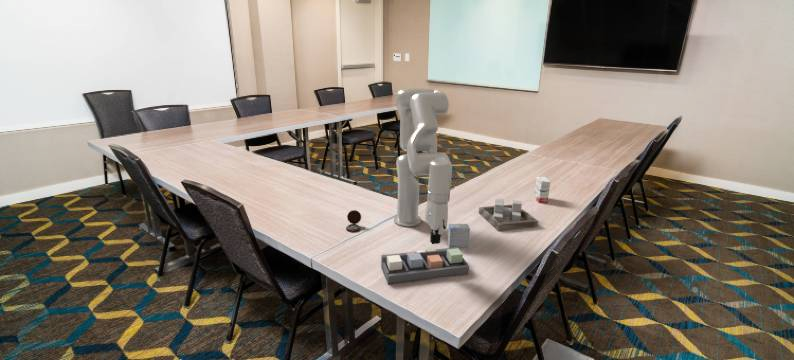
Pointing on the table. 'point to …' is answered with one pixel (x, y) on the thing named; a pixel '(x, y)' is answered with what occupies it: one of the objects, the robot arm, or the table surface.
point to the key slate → (415, 260)
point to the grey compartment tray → (423, 272)
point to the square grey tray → (528, 222)
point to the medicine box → (458, 235)
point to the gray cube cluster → (507, 211)
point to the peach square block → (434, 261)
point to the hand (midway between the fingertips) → (435, 242)
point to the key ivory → (394, 262)
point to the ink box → (542, 189)
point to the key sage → (454, 255)
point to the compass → (353, 221)
